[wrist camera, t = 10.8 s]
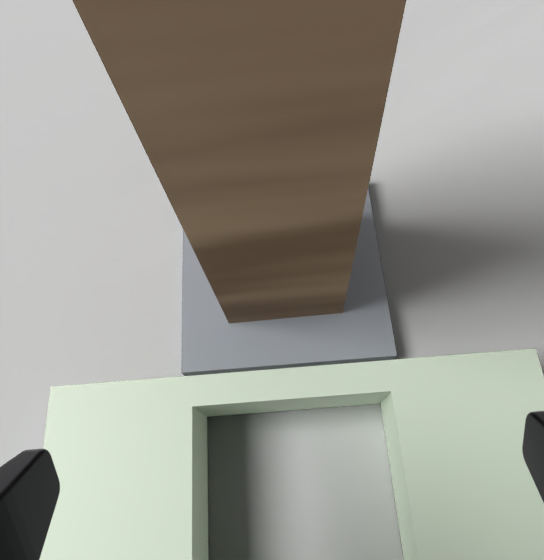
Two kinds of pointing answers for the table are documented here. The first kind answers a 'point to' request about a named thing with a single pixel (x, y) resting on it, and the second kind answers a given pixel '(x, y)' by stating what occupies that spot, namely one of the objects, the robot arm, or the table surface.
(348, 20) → the walnut block
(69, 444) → the puzzle board
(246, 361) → the grey mat
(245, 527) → the table surface
